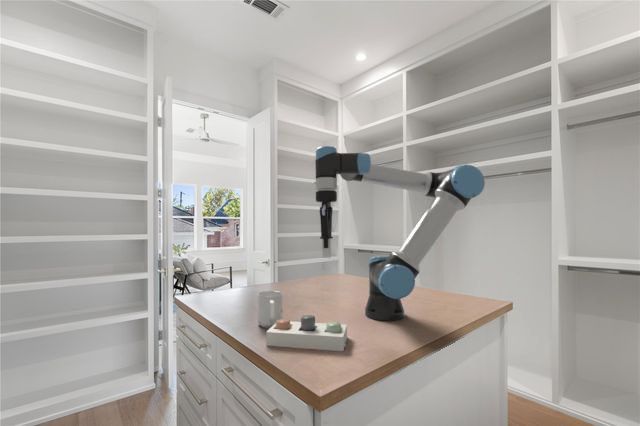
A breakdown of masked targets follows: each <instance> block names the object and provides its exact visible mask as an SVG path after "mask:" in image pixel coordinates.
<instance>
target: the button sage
mask: <svg viewBox="0 0 640 426" xmlns="http://www.w3.org/2000/svg"><path fill="white" fill-rule="evenodd" d="M341 324H342V323H340V322H336V321H329V322H327V324H326V332H329V333H341Z"/></svg>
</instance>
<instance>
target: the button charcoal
mask: <svg viewBox="0 0 640 426" xmlns="http://www.w3.org/2000/svg"><path fill="white" fill-rule="evenodd" d="M300 322H301V331H313V332H314V331H315V323H316V316H315V315H312V314H304V315H301V316H300Z"/></svg>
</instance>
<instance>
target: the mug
mask: <svg viewBox="0 0 640 426" xmlns="http://www.w3.org/2000/svg"><path fill="white" fill-rule="evenodd" d="M283 297H284V294H283V292H282V291H279V290H265V291H261V292H258V294H257V324H259V326H260V327H262V328H266V329H270V328H271V327H272V326H273V325H274V324H275V323H276V321H277V320H280V319H284V317H283V311H284V310H283V303H284V300H283Z"/></svg>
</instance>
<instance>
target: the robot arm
mask: <svg viewBox="0 0 640 426" xmlns="http://www.w3.org/2000/svg"><path fill="white" fill-rule="evenodd" d="M314 161H315V181H314V182H313V184H314V185H315V190H317V191H316V192H315V202H317V203H321V205H320V207H319V217H320V219H319V220H320V237H319V239H320V240H322V245H321V246H322V247H321V248H322V258H327V259H329V258H331V257H332V254H331V253H332V252H331V251H332V247H331V246H332V245H331V244H332V243H331V242H332V241H331V239H333V238H334V237H333V236H332V230H333V229H332V228H333V227H332V226H333V225H332V224H333V207H332V203H336V202H337V201H338V200H337V199H338V195H337V194H338V192H337V191H336V190H338V178H337V176H338V175H340V177H341V178H342V179H343V180H344V181H349V182H350V181H355V182H363V183H366V184H367V183H368V184H373V185H379V186H384V187H389V188H395V189H400V190H401V189H402V190H406V191H410V192H418V193H421V194H422V195H423V196H425V197H431V198H434V199H433V200H432V202H431V204H430V205H429V206H428V208H427V209H426V211H425V212H424V214H423V215H422V216H421V217H420V219H419V221H418V222H417V223H416V225H414V227H413V229H412V230H411V232H410V233H409V235H407V237H406V239H405V240H404V241H403V243H402V244H401V245H400V248H398V250H397V251H392V252H391V253H390V254H389V256H371V257H370V258H369V260H368V275H369V276H368V278H369V279H368V282H369V284H368V286H369V291H368V293H369V294H368V299H367V301H366V305H365V308H364V315H365V316H366V317H367V318H369V319H373V320H376V321H377V320H378V321H388V322H389V321H390V322H391V321H397V320H398V321H399V320H402V319H404V317H405V309H404V306H403V303H402V299H404V298H406V297H408V296H409V295H411V293H412V292H413V291H414V289H415V286H416V278H417V277H418V275H419V274H420V272H421V271H420V264H421V263H422V261H424V260H423V259H424V258H426V256H427V254H428V253H429V251H430V250H431V249H432V247H433V246H434V244H435V243H436V242H437V240H438V239H439V237H440V236H441V234H442V233H443V232H444V230H445V229H446V227H447V225H448V224H449V223H450V222H451V220H452V219H453V217H454V216H455V214H456V213H457V211H462V210H465V208H466V207H467V205H468V204H469V203H470V202H471V200H472V199H473V198H476V197H478V196H480V194H482V192H483V191H484V189H485V184H486V182H485V177H484V174H483V173H482V171H481V170H480V169H479V168H477V166H474V165H472V164H463V165H457V166H456V167H455V168H452V169H449V170H447V171H443V172H432V171H428V172H426V173H423V172H417V171H412V170H405V169H400V168H395V167H389V166H383V165H378V164H372V162H371V161H372V160H371V156H370V154H369V153H363V152H351V153H350V152H337V148H336V147H334V146H330V145H329V146H328V145H324V146H323V145H322V146H319V147H317V149H316V151H315V160H314Z"/></svg>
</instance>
